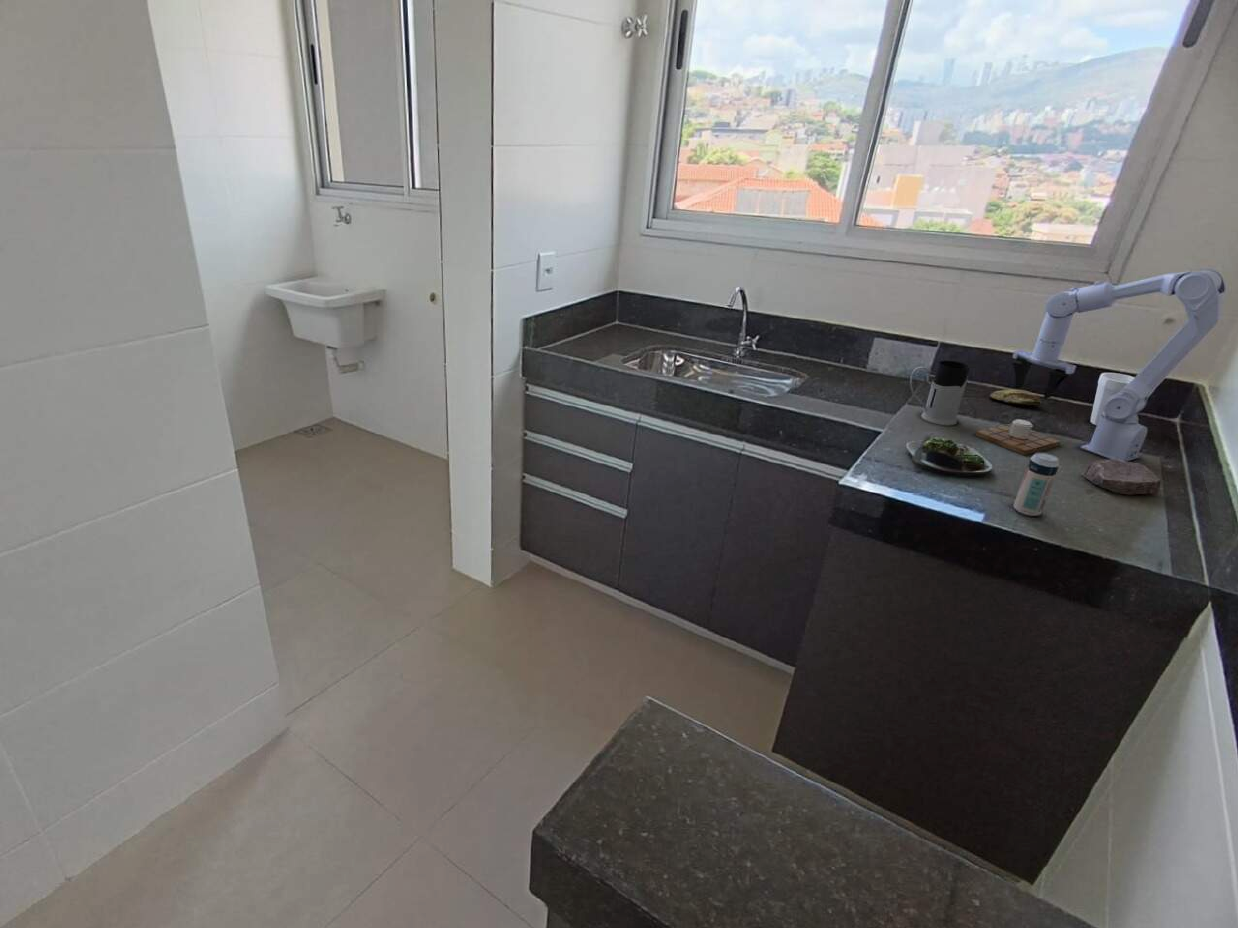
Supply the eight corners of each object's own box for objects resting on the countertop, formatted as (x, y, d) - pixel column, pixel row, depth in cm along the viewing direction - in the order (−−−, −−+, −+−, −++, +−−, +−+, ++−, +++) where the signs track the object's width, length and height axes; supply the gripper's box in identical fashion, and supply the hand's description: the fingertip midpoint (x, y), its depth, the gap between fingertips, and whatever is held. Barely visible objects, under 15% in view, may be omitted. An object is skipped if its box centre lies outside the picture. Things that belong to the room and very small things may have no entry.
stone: (1079, 474, 147) (1087, 455, 145) (1135, 481, 146) (1144, 462, 144) (1099, 492, 139) (1108, 473, 137) (1159, 500, 138) (1169, 480, 136)
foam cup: (1132, 428, 176) (1151, 382, 171) (1111, 432, 173) (1130, 385, 167) (1096, 415, 184) (1113, 371, 178) (1076, 419, 180) (1093, 374, 175)
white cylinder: (1030, 436, 164) (1035, 422, 162) (1025, 440, 161) (1030, 426, 159) (1011, 430, 166) (1016, 417, 165) (1006, 434, 163) (1010, 421, 162)
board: (1058, 445, 163) (1060, 440, 162) (1024, 455, 156) (1025, 450, 155) (1010, 427, 172) (1012, 422, 172) (975, 435, 166) (977, 430, 165)
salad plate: (889, 439, 160) (893, 422, 158) (963, 445, 160) (969, 427, 158) (916, 474, 143) (921, 455, 141) (1000, 481, 142) (1006, 461, 140)
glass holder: (961, 426, 171) (978, 371, 164) (905, 421, 172) (919, 366, 166) (950, 414, 179) (965, 361, 172) (896, 409, 180) (910, 356, 173)
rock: (1046, 405, 190) (1049, 393, 189) (1035, 408, 183) (1038, 395, 182) (997, 397, 199) (1000, 386, 198) (985, 400, 192) (988, 387, 191)
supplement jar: (1030, 505, 132) (1050, 451, 127) (1045, 517, 128) (1066, 462, 123) (1007, 505, 132) (1026, 451, 127) (1021, 517, 128) (1042, 461, 123)
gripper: (1013, 334, 167) (996, 385, 173) (1071, 350, 156) (1052, 403, 162) (1029, 332, 170) (1012, 382, 176) (1087, 347, 159) (1067, 400, 165)
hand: (1032, 392), depth 169 cm, fingers open, 7 cm apart
